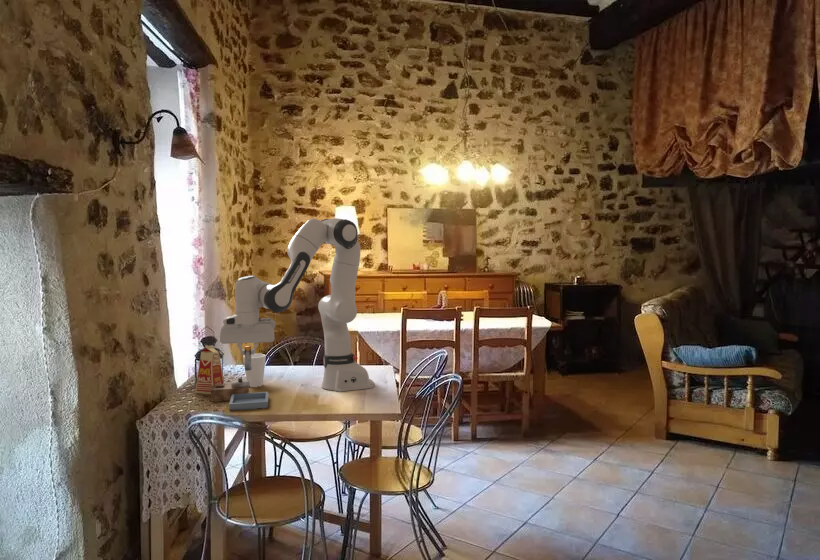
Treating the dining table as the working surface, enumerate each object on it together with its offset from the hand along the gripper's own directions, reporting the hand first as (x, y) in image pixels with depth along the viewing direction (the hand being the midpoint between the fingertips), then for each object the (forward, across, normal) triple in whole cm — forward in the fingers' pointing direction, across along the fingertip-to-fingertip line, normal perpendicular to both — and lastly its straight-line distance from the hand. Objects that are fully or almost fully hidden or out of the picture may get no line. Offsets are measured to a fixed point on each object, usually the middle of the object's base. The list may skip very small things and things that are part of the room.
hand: (247, 354), depth 230 cm
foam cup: (+20, -1, -29) cm, 35 cm away
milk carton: (+20, +17, -24) cm, 35 cm away
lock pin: (+6, 0, 0) cm, 6 cm away
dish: (+20, 0, 0) cm, 20 cm away
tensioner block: (+20, +8, -12) cm, 24 cm away
